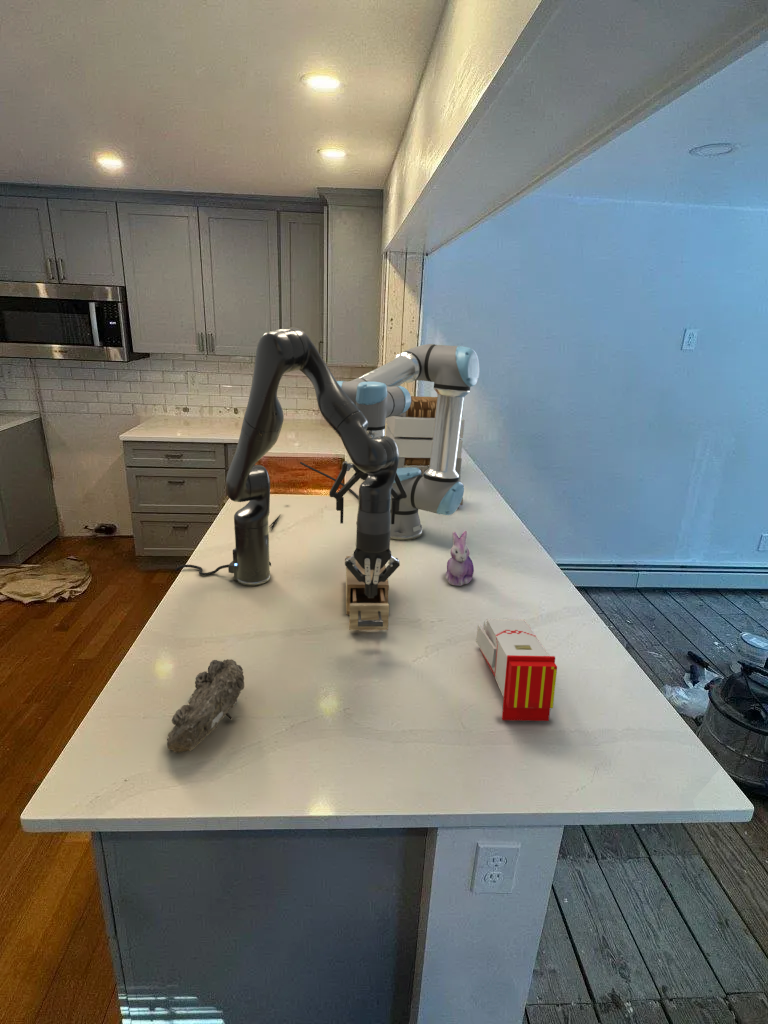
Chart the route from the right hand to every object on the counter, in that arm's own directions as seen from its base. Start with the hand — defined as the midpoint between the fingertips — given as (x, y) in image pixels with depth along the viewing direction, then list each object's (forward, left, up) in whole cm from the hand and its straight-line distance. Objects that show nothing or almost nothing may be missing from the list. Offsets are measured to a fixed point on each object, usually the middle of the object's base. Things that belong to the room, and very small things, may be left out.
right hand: (367, 522), depth 152 cm
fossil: (+23, -56, -21) cm, 63 cm away
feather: (-63, +10, -21) cm, 67 cm away
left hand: (+20, -15, -9) cm, 27 cm away
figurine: (+11, +27, -21) cm, 36 cm away
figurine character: (-37, +76, -21) cm, 87 cm away
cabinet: (+3, -3, -21) cm, 21 cm away
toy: (+50, 0, -21) cm, 54 cm away
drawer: (+13, -10, -20) cm, 26 cm away
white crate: (-79, +97, -21) cm, 127 cm away
